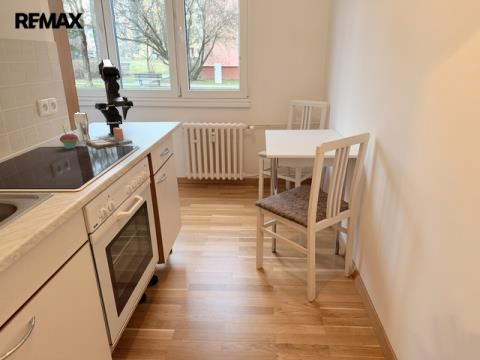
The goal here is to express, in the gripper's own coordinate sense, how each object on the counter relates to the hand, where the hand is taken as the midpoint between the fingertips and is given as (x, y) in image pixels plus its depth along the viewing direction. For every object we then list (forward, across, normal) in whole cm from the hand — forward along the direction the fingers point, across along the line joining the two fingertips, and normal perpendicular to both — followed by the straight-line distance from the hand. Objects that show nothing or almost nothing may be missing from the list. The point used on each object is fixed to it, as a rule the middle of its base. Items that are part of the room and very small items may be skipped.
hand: (116, 121), depth 179 cm
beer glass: (+12, -12, +20) cm, 26 cm away
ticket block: (+12, -10, 0) cm, 15 cm away
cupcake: (+12, -24, +6) cm, 27 cm away
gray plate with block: (+12, 0, 0) cm, 12 cm away
